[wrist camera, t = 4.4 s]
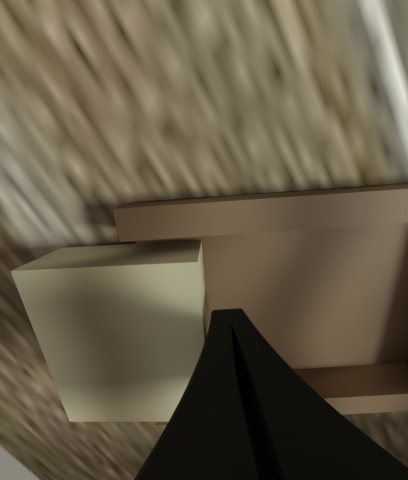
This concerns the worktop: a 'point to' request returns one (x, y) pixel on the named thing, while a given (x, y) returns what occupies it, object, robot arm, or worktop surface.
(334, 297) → the walnut box
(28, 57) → the worktop surface
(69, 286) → the beige rectangular block
